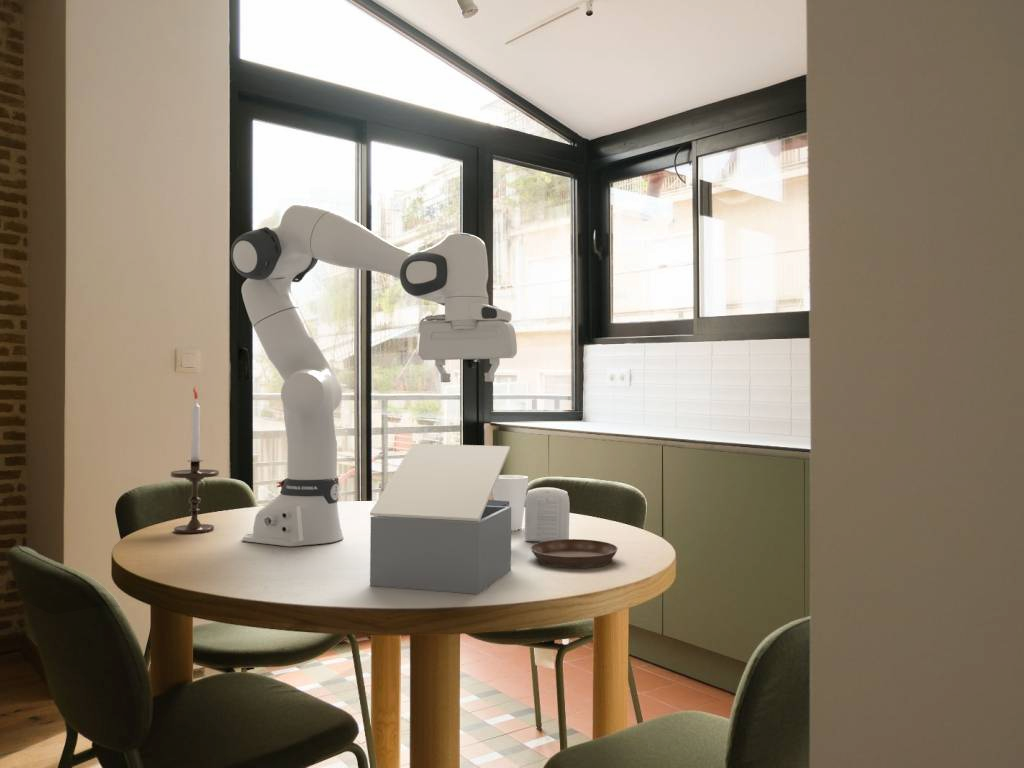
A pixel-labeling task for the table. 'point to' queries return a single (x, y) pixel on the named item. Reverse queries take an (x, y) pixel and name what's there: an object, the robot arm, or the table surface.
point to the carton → (441, 552)
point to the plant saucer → (574, 553)
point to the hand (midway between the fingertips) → (467, 382)
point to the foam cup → (512, 496)
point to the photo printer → (546, 514)
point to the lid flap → (442, 482)
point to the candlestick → (194, 476)
